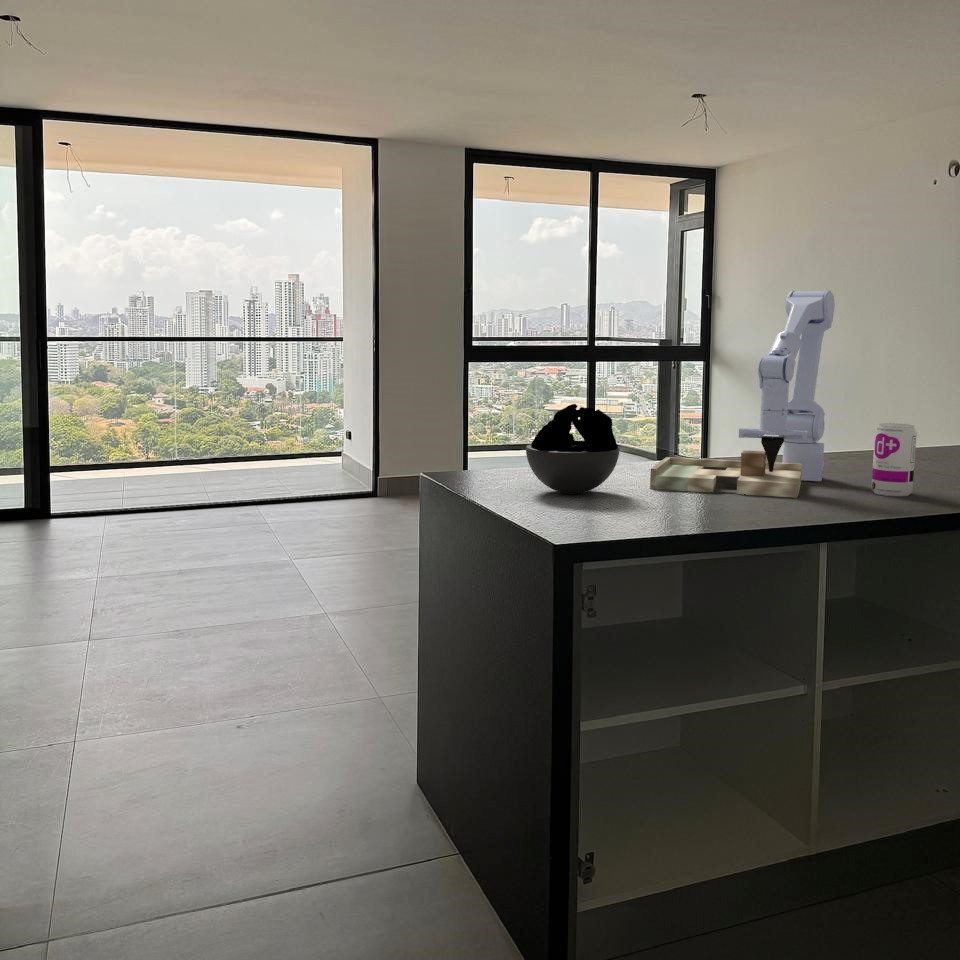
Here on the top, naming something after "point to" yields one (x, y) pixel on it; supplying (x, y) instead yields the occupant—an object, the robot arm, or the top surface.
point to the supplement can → (894, 459)
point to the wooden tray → (724, 477)
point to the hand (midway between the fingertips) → (771, 471)
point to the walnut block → (753, 463)
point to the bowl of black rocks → (574, 451)
